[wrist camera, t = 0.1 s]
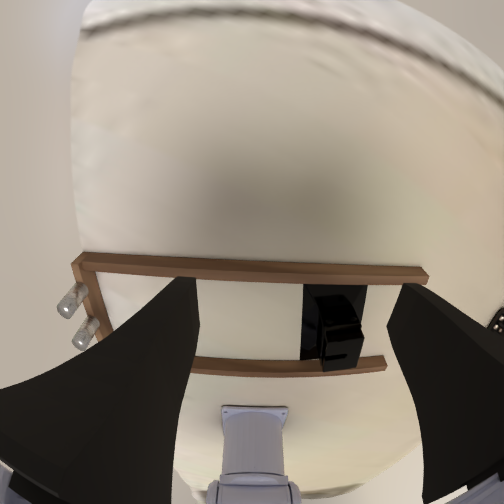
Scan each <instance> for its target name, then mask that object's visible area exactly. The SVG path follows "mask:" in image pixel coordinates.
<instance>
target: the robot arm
mask: <svg viewBox="0 0 504 504" xmlns="http://www.w3.org/2000/svg"><path fill="white" fill-rule="evenodd" d="M199 328H200V320H199V310H198V299H197V287H196V277H183V276H177V277H176V278H175V279H174V280H172V281H171V282H170V283H169V284H168V285H167V286H166V287H165V288H164V289H163V290H162V291H160V292H159V293H158V294H157V295H156V296H155V297H154V298H153V299H152V300H151V301H149V302H148V303H147V304H146V305H145V306H144V307H143V308H142V309H141V310H139V311H138V312H137V313H136V314H135V315H133V316H132V317H131V318H130V319H128V320H127V321H126V322H125V323H124V324H122V325H121V326H120V327H119V328H117V329H116V330H115V331H113V332H112V333H111V334H109V335H108V336H107V337H105V338H104V339H102V340H101V341H99V342H98V343H97V344H95V345H94V346H92V347H90V348H89V349H87V350H86V351H84V352H83V353H81V354H79V355H77V356H75V357H74V358H72V359H70V360H68V361H66V362H65V363H63V364H61V365H59V366H58V367H56V368H53V369H51V370H49V371H47V372H45V373H43V374H41V375H38V376H36V377H34V378H31V379H29V380H27V381H24V382H21V383H18V384H15V385H12V386H10V387H6V388H3V389H0V460H1V461H2V462H4V463H5V464H7V465H8V466H9V467H10V468H12V469H13V470H14V471H13V472H11V471H10V470H8V469H7V468H5V467H4V466H2V465H1V464H0V504H171V491H172V473H173V460H174V450H175V441H176V433H177V426H178V419H179V413H180V409H181V404H182V401H183V397H184V393H185V390H186V386H187V382H188V379H189V375H190V371H191V368H192V364H193V360H194V357H195V353H196V348H197V342H198V335H199ZM387 330H388V333H389V337H390V341H391V344H392V348H393V350H394V353H395V355H396V358H397V360H398V363H399V365H400V367H401V370H402V372H403V375H404V377H405V379H406V382H407V384H408V387H409V389H410V392H411V395H412V397H413V400H414V404H415V407H416V411H417V416H418V420H419V425H420V431H421V438H422V446H423V460H424V477H423V492H422V499H423V503H424V504H429V503H431V502H433V501H436V500H438V499H440V498H442V497H444V496H446V495H448V494H450V493H452V492H454V491H456V490H458V489H460V488H461V487H463V486H465V485H467V489H468V491H467V492H465V493H463V494H462V495H460V496H458V497H456V498H455V499H453V500H451V501H449V502H447V503H445V504H504V338H502V337H500V336H499V335H497V334H495V333H493V332H492V331H490V330H488V329H487V328H485V327H484V326H482V325H481V324H479V323H478V322H476V321H475V320H473V319H472V318H470V317H469V316H467V315H466V314H464V313H463V312H461V311H460V310H459V309H457V308H456V307H454V306H453V305H451V304H450V303H448V302H447V301H446V300H444V299H443V298H441V297H440V296H438V295H437V294H435V293H434V292H432V291H430V290H429V289H427V288H425V287H424V286H422V285H420V284H418V283H403V285H402V288H401V291H400V294H399V296H398V299H397V302H396V304H395V307H394V309H393V312H392V314H391V317H390V319H389V321H388V324H387ZM221 411H222V422H223V432H224V449H223V462H222V475H220V481H219V480H214V481H213V482H211V483H210V484H209V486H208V490H207V498H206V504H301V494H300V490H299V487H298V486H297V485H296V484H295V483H294V482H292V481H288V476H284V457H283V439H282V429H283V426H284V423H285V420H286V417H287V414H288V408H285V407H282V408H261V407H233V406H223V407H222V409H221Z"/></svg>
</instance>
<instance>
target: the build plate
mask: <svg viewBox="0 0 504 504" xmlns="http://www.w3.org/2000/svg"><path fill="white" fill-rule="evenodd" d="M367 287H368V285H338V284H303V308H302V329H301V346H300V360H311V359H319V361H320V365H321V366H322V371H323V372H331V371H338V370H344V369H351V368H356V367H357V364H358V360H359V357H360V353H361V349H362V346H363V342H364V335H363V333H362V330H361V327H362V326H361V320H362V315H363V310H364V305H365V299H366V293H367Z"/></svg>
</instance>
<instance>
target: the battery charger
mask: <svg viewBox="0 0 504 504" xmlns="http://www.w3.org/2000/svg"><path fill="white" fill-rule="evenodd" d="M487 329H488V330H490V331H492V332H493V333H495V334H497V335H499V336H500V337H502V338H504V309H502V310H500V311H499V312H498V313H497V315H496V316H495V318H494V319H493V321H492V322H491V324H490V325H489V326H488V328H487Z"/></svg>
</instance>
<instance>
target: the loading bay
mask: <svg viewBox="0 0 504 504" xmlns="http://www.w3.org/2000/svg"><path fill="white" fill-rule="evenodd" d="M71 266H72V270H73V274H74V277H75V280H76V283H75V285H74V286H73V287H72V288H71V289H70V291H69V292H68V293H67V294H66V295H65V296H64V298H63V299H62V300H61V301H60V303H59V304H58V305H57V310H58V312H59V313H60V315H61V316H63V317H64V318H66V319H70V318H71V317H72V315H73V314H74V313H75V311H76V310H77V308H78V307H79V306H80V304H81V303H82V302H83V304H84V307H85V310H86V312H87V315H88V316H87V318H86V319H85V321H84V322H83V324H82V325H81V327H80V328H79V330H78V331H77V333H76V334H75V336H74V338H73V339H72V343H73V345H74V346H75V347H76V348H78V349H79V350H81V351H85V350H86V348H87V347H88V345H89V343H90V341H91V340H92V338H93V336H94V334H95V336H96V338H97V340H98V342H99V341H101V340H102V339H104V338H105V337H107V336H108V335H109V334H111V333H112V332H113V329H112V326H111V323H110V321H109V318H108V315H107V312H106V308H105V305H104V302H103V299H102V296H101V292H100V289H99V285H98V282H97V278H96V274H95V271H97V272H108V273H120V274H132V275H145V276H158V277H172V278H176V277H177V276H183V277H196V279H204V280H223V281H243V282H267V283H296V284H338V285H403V283H418V284H420V285H426V284H427V282H428V279H429V275H428V274H427V273H426V272H425V271H424V270H423V269H422V267H402V266H371V265H342V264H316V263H291V262H267V261H244V260H223V259H202V258H182V257H162V256H144V255H126V254H108V253H91V252H82V253H81V254H80V255H79V256H78V257H77V258H76V259H75V260H74V261H73V262H72V263H71ZM387 366H388V365H387V363H386V361H385V358H384V356H373V357H362V358H359V360H358V364H357V367H356V368H351V369H344V370H338V371H331V372H323V371H322V366H321V365H320V361H319V360H301V361H270V360H239V359H222V358H209V357H197V356H195V357H194V360H193V364H192V368H191V371H190V373H198V374H209V375H222V376H239V377H275V378H284V377H320V376H337V375H350V374H360V373H370V372H378V371H385V370H386V368H387Z"/></svg>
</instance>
